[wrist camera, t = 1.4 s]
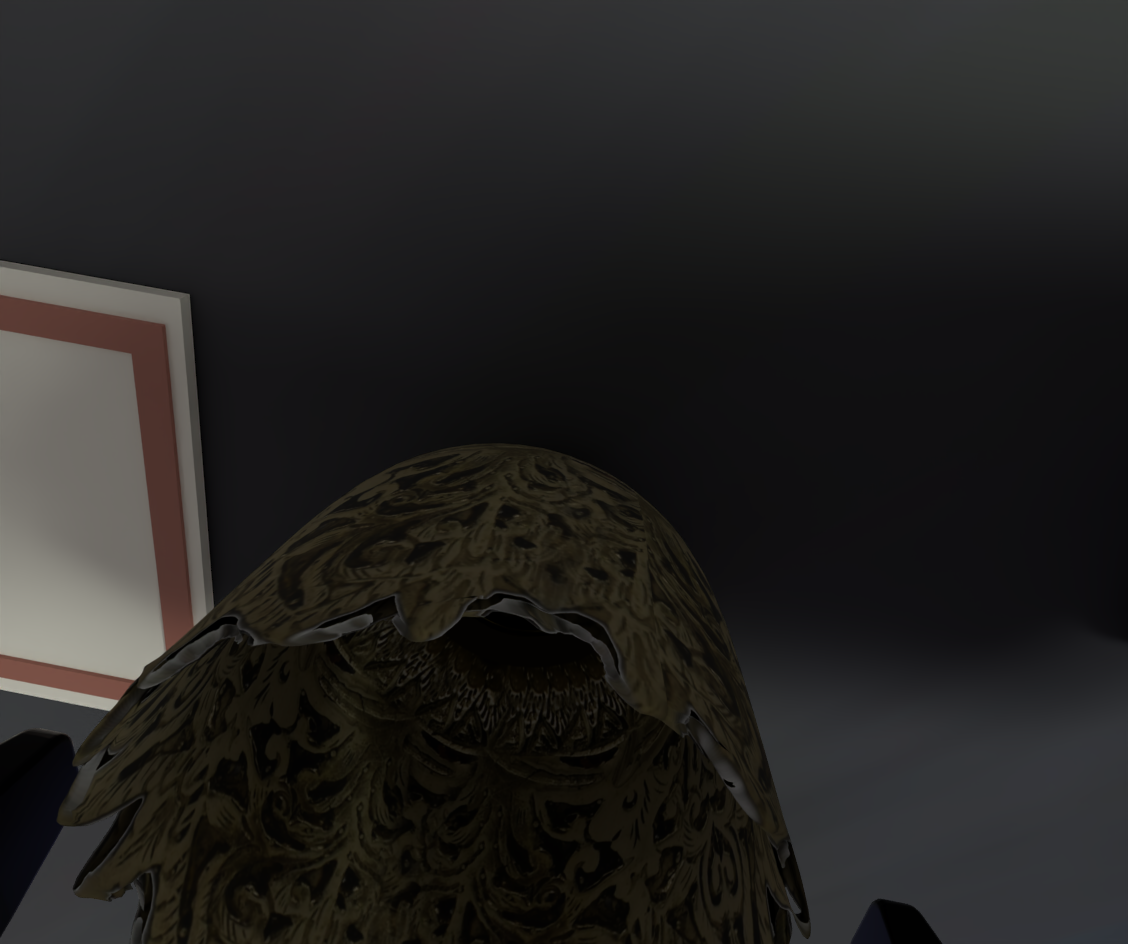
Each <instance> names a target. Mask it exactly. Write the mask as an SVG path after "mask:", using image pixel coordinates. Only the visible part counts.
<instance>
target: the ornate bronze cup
mask: <svg viewBox="0 0 1128 944" xmlns="http://www.w3.org/2000/svg"><path fill="white" fill-rule="evenodd" d="M72 763H73V766H79V765H82V764H83V765H82V767H81V769H80V771H79V772H78V774H77V776H76V778H75V780H74V782H73V784H72V786H71V788H70V790H69V792H68V794H67V796H66V797H65V799H64V801H63V802H62V804H61V806H60V808H59V811H58V816H57V820H56V821H57V822H58V824H60V825H62V826H88V825H91V824H94V823H96V822H99V821H102V820H104V819H107V818H108V817H111V816H113V815H114V814H115V813H117V812H118V814H117V816H116V819H115V820H114V822H113V824H112V826H111V827H110V829H109V831H108V832H107V833H106V835H105V836H104V837H103V839H102V841H101V842H100V844H99V845H98V847H97V848H96V849H95V851H94V852H93V854H92V855H91V857H90V858H89V860H88V861H87V863H86V864H85V866H84V867H83V869H82V870H81V872H80V873H79V875H78V877H77V878H76V881H75V884H74V885H73V891H74V893H75V895H76V896H78V897H81V898H94V899H99V900H105V901H109V902H111V901H112V899H116V898H118V897H122V896H123V894H124V893H125V891H126V890H130V889H133V888H132V886H131V884H130V883H132V882H133V881H134V885H135V887H136V888H137V892H138V897H139V903H138V910H137V913H136V915H135V919H134V923H133V928H132V932H131V938H130V944H789V942H790V938H791V935H792V925H791V924H792V923H791V917H790V913H789V911H791V912H792V913H793V915H794V918H795V920H796V923H797V926H798V928H799V930H800V931H801V933H802V935H803V936H804V937H805V938H807V939H808V938H809V937H810V931H811V925H810V918H809V911H808V906H807V901H806V897H805V892H804V888H803V884H802V880H801V876H800V872H799V869H798V865H797V862H796V858H795V855H794V851H793V848H792V845H791V840H790V837H789V834H788V831H787V828H786V825H785V821H784V818H783V815H782V811H781V808H780V804H779V800H778V797H777V793H776V790H775V786H774V782H773V779H772V775H771V772H770V768H769V765H768V761H767V758H766V754H765V750H764V747H763V744H762V740H761V737H760V733H759V730H758V726H757V723H756V719H755V716H754V713H753V709H752V706H751V703H750V699H749V696H748V692H747V689H746V686H745V682H744V679H743V676H742V672H741V669H740V666H739V662H738V659H737V656H736V653H735V649H734V646H733V643H732V640H731V637H730V634H729V631H728V628H727V626H726V623H725V620H724V617H723V615H722V612H721V610H720V608H719V606H718V603H717V601H716V599H715V596H714V594H713V592H712V590H711V587H710V585H709V583H708V581H707V579H706V576H705V574H704V573H703V571H702V569H701V568H700V566H699V564H698V563H697V561H696V559H695V558H694V556H693V555H692V553H691V551H690V550H689V548H688V547H687V545H686V543H685V542H684V540H683V539H682V538H681V536H680V535H679V534H678V532H677V531H676V530H675V529H674V527H673V526H672V525H671V524H670V522H669V521H668V520H667V519H666V518H665V517H664V516H663V515H662V514H661V513H660V512H659V511H658V510H657V509H656V508H655V507H654V506H653V505H651V504H650V503H649V502H648V501H647V500H645V499H644V498H643V497H642V496H641V495H639V494H638V493H637V492H635V491H634V490H633V489H632V488H630V487H629V486H628V485H627V484H625V483H623V482H622V481H620V480H619V479H617V478H616V477H614V476H612V475H611V474H609V473H608V472H606V471H604V470H602V469H600V468H598V467H596V466H594V465H592V464H590V463H587V462H585V461H582V460H580V459H577V458H574V457H572V456H569V455H566V454H563V453H559V452H556V451H552V450H548V449H544V448H539V447H533V446H527V445H521V444H505V443H486V444H471V445H464V446H458V447H451V448H445V449H440V450H436V451H433V452H429V453H425V454H421V455H418V456H416V457H413V458H410V459H408V460H405V461H403V462H400V463H398V464H396V465H394V466H392V467H390V468H388V469H386V470H384V471H382V472H381V473H379V474H377V475H375V476H373V477H371V478H369V479H368V480H366V481H364V482H362V483H360V484H359V485H358V486H356V487H355V488H353V489H352V490H351V491H349V492H348V493H346V494H345V495H344V496H342V497H341V498H339V499H338V500H337V501H335V502H334V503H332V504H331V505H330V506H328V507H327V508H325V509H324V510H323V511H322V512H320V513H319V514H318V515H317V516H315V517H314V518H313V519H312V520H311V521H309V522H308V523H307V524H306V525H305V526H303V527H302V528H301V529H300V530H299V531H298V532H297V533H295V534H294V535H293V536H292V537H291V538H290V539H289V540H288V541H287V542H285V543H284V544H283V545H282V546H281V547H280V548H279V549H278V550H276V551H275V552H274V553H273V554H272V555H271V556H270V557H269V558H268V559H267V560H265V561H264V562H263V563H262V564H261V565H260V566H259V567H258V568H257V569H256V570H255V571H253V572H252V573H251V574H250V575H249V576H248V577H247V578H246V579H245V580H244V581H243V582H241V583H240V584H239V585H238V586H237V587H236V588H235V589H234V590H233V591H232V592H231V593H230V594H228V595H227V596H226V597H225V598H224V599H223V600H222V601H221V602H220V603H219V604H218V605H217V606H216V607H214V608H213V609H212V610H211V611H210V612H209V613H208V614H207V615H206V616H205V617H204V618H203V619H201V620H200V621H199V622H198V623H197V624H196V625H195V626H194V627H193V628H192V629H191V630H189V631H188V632H187V633H186V634H185V635H184V636H183V637H182V638H181V639H180V640H178V641H177V642H176V643H175V644H174V645H173V646H172V647H170V648H169V649H168V650H167V651H166V652H165V653H163V654H162V655H161V656H160V657H158V658H157V659H155V660H154V661H152V662H151V663H149V664H147V665H146V666H144V669H143V672H142V674H141V675H140V677H138V678H137V679H136V680H135V681H134V682H133V683H132V684H131V685H130V686H129V688H128V689H127V690H126V692H125V693H124V694H123V696H122V697H121V698H120V700H119V701H118V702H117V704H116V705H115V706H114V707H113V708H112V709H111V710H110V711H109V712H108V714H107V715H106V716H105V717H104V718H103V719H102V720H101V722H100V723H99V724H98V725H97V726H96V727H95V728H94V730H93V731H92V732H91V733H90V734H89V736H88V737H87V738H86V740H85V741H84V742H83V744H82V745H81V746H80V748H79V749H78V751H77V753H76V755H75V757H74V759H73V762H72ZM137 878H139V881H138V880H137ZM785 887H787V889H788V891H789V893H790V895H791V897H792V898H793V900H794V902H795V903H796V905H797V906H798V908H799V909H800V910H801V913H800V914H795V913H794V912H793V910H792V908H791V906H790V903H789V900H788V897H787V894H786V890H785Z"/></svg>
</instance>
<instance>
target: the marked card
mask: <svg viewBox="0 0 1128 944" xmlns="http://www.w3.org/2000/svg"><path fill="white" fill-rule="evenodd" d="M213 608H214V601H213V588H212V575H211V563H210V550H209V537H208V524H207V511H206V498H205V486H204V473H203V460H202V447H201V434H200V421H199V408H198V396H197V383H196V370H195V357H194V344H193V331H192V318H191V306H190V294H186V293H181V292H175V291H170V290H164V289H158V288H153V287H147V286H142V285H136V284H130V283H125V282H119V281H114V280H108V279H102V278H97V277H91V276H86V275H80V274H75V273H69V272H63V271H58V270H52V269H47V268H41V267H35V266H30V265H24V264H19V263H13V262H7V261H2V260H0V689H1V690H6V691H11V692H16V693H21V694H26V695H31V696H36V697H41V698H47V699H52V700H57V701H62V702H67V703H72V704H77V705H82V706H87V707H92V708H97V709H102V710H108V711H110V710H111V709H112V708H113V707H114V706H115V705H116V704H117V702H118V701H119V700H120V698H121V697H122V696H123V694H124V693H125V692H126V690H127V689H128V688H129V686H130V685H131V684H132V683H133V682H134V681H135V680H136V679H137V678H138V677H140V675H141V674H142V672H143V669H144V666H146V665H147V664H149V663H151V662H152V661H154V660H155V659H157V658H158V657H160V656H161V655H162V654H163V653H165V652H166V651H167V650H168V649H169V648H170V647H172V646H173V645H174V644H175V643H176V642H177V641H178V640H180V639H181V638H182V637H183V636H184V635H185V634H186V633H187V632H188V631H189V630H191V629H192V628H193V627H194V626H195V625H196V624H197V623H198V622H199V621H200V620H201V619H203V618H204V617H205V616H206V615H207V614H208V613H209V612H210V611H211V610H212V609H213Z"/></svg>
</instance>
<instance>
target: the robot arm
mask: <svg viewBox="0 0 1128 944" xmlns="http://www.w3.org/2000/svg"><path fill="white" fill-rule="evenodd" d="M74 757H75V751H74V747H73V742H72V740H71V738H70V737H69V736H68V735H67V734H64V733H60V732H55V731H50V730H45V729H40V728H33V729H28V730H25V731H23V732H21V733H19V734H17V735H15V736H13V737H11V738H10V739H8V740H6V741H4V742H2V743H0V937H1V936H2V934H3V932H4V930H5V929H6V927H7V925H8V924H9V922H10V920H11V919H12V917H13V915H14V913H15V912H16V910H17V908H18V906H19V905H20V903H21V901H22V899H23V897H24V896H25V894H26V892H27V890H28V889H29V887H30V885H31V883H32V881H33V880H34V878H35V876H36V874H37V873H38V871H39V869H40V867H41V865H42V864H43V862H44V860H45V858H46V857H47V855H48V853H49V851H50V849H51V848H52V846H53V844H54V842H55V841H56V839H57V837H58V835H59V833H60V832H61V830H62V828H63V826H62V825H60V824H58V822H57V821H56V820H57V816H58V811H59V808H60V806H61V804H62V802H63V801H64V799H65V797H66V796H67V794H68V792H69V790H70V788H71V786H72V784H73V782H74V780H75V778H76V776H77V774H78V772H79V771H78V766H73V763H72V762H73V759H74ZM851 944H942V942H941V941H940V940H939V938H938V937H937V935H936V934H935V933H934V931H933V930H932V928H931V927H930V926H929V924H928V923H927V921H926V920H925V918H924V917H923V916H922V914H921V913H920V912H919V911H918V910H917V909H916V908H914V907H913V906H911V905H908V904H905V903H900V902H895V901H890V900H885V899H877V900H875V901H873V902H872V904H871V905H870V907H869V908H868V910H867V912H866V914H865V916H864V918H863V920H862V922H861V924H860V926H859V927H858V929H857V931H856V933H855V935H854V937H853V939H852V941H851Z"/></svg>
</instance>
